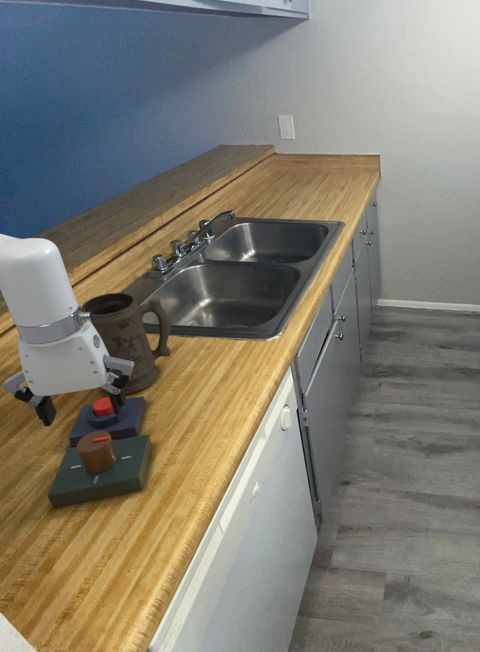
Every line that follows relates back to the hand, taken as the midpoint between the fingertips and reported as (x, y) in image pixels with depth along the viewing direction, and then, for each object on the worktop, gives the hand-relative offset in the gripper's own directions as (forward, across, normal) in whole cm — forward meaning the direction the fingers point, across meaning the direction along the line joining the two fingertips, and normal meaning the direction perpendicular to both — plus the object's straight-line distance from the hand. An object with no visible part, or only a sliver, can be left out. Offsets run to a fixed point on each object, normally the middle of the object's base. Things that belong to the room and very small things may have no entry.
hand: (86, 414), depth 75 cm
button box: (+14, +3, -13) cm, 19 cm away
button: (+10, +3, -13) cm, 17 cm away
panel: (+14, +1, 0) cm, 14 cm away
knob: (+11, +1, 0) cm, 11 cm away
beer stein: (+14, 0, -28) cm, 31 cm away
